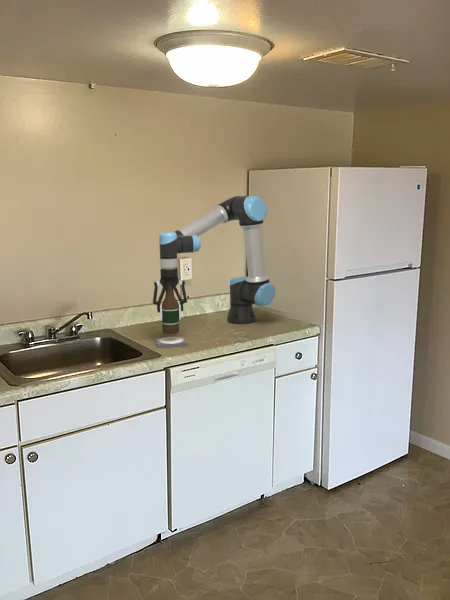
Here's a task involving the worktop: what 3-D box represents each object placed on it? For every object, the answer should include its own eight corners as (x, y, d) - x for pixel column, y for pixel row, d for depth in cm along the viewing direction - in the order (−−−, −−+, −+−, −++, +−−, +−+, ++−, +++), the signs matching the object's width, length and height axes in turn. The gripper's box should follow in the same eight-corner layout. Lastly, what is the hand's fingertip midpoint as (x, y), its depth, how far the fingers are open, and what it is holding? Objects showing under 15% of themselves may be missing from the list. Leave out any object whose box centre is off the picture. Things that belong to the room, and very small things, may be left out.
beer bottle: (165, 335, 243) (163, 281, 238) (160, 331, 250) (158, 278, 245) (182, 333, 246) (180, 279, 241) (176, 329, 253) (174, 277, 248)
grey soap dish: (184, 339, 255) (184, 336, 255) (187, 346, 245) (187, 342, 244) (156, 341, 253) (155, 337, 253) (157, 348, 242) (157, 344, 242)
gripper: (191, 266, 248) (192, 315, 252) (144, 267, 244) (146, 318, 248) (193, 268, 241) (194, 319, 245) (145, 270, 237) (147, 322, 241)
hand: (170, 318), depth 247 cm, fingers closed on beer bottle, 8 cm apart
